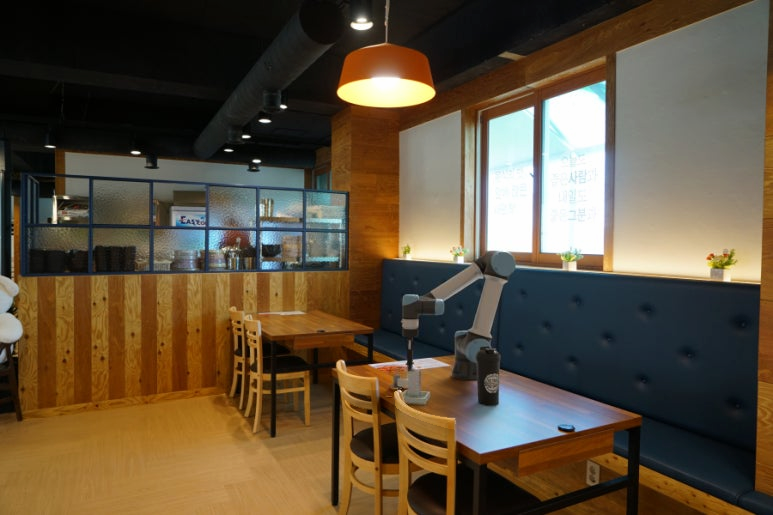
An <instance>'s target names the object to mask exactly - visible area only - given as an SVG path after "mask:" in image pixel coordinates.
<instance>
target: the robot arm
mask: <svg viewBox="0 0 773 515" xmlns="http://www.w3.org/2000/svg"><path fill="white" fill-rule="evenodd" d="M470 263H471V264H470V265H469V266H468V267H466V268H465V269H464V270H462V271H460V272H459V273H457V274H456V275H454V276H453V277H451V278H449V279H448V280H447V281H445V282H443V283H441V284H440V285H438V286H437V287H435V288H434V289H432V290H431V291H430V292H427V293H426V294H424V295H421V296H419V295H418V294H412V293H411V294H404V295H403V296H402V304H401V307H402V318H401V321H400V323H402V324H401V327H402V329H401V336H402V337H404V338H407V339H405V350H406V363H405V366H406V379H408V371H409V370H410V369H414V365H415V362H414V359H413V357H414V349H415V339H414V338H417V337H419V325H420V324H419V317H420V316H440V315H443V314H444V313H445V301H446V300H448V299H449V298H451V297H453V296H454V295H455V294H457V293H459V292H461V291H462V290H464V289H466V287H468V286H469V285H471V284H472V283H474V282H476V281H477V280H479V279H482V280H483V279H484V278H485V281H484V283H483V284H484V285H483V288H482V292H481V295H480V299H479V303H478V306H477V310H476V313H475V316H474V320H473V324H472V327H471V328H469V329H467V330H457V331H456V332H455V333H454V363H453V367H452V369H451V378H453V379H454V380H455V379H456V380H461V381H477V362H476V354H477V352H478V351H480V347H482V346H489V347H490V348H492V345H491V342H492V339H493V335H491V330H492V327H493V323H494V319H495V315H496V312H497V309H498V305H499V301H500V298H501V294H502V291H503V288H504V285H505V284H506V283H508V282H509V278H510V275H511V274H513V273H514V271H515V269H516V266H517V261H516V258H515V257H514V255H513V254H512V253H511V252H509V251H506V250H489V251H487V252H485V253H484V254H482V255H481V256H479V257H478V258H476V259H475V260H473V261H472V262H470Z"/></svg>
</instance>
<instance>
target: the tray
mask: <svg viewBox="0 0 773 515" xmlns="http://www.w3.org/2000/svg"><path fill="white" fill-rule="evenodd" d="M402 393H403V396H404V400H405V402H406V403H407V404H408V405H420V406H426V405H427V403H428V401H429V400H430V398H431V391H425V390H424V391H423V390H421V398H412V397H408V389H406V390H404V391H403V392H402ZM407 404H406V405H407Z"/></svg>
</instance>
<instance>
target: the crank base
mask: <svg viewBox="0 0 773 515" xmlns="http://www.w3.org/2000/svg"><path fill="white" fill-rule="evenodd" d="M390 387H392V388H398V389H400V388H403V389H404V387H399V386H394V385H393V384H391V385H390V386H389V388H390Z"/></svg>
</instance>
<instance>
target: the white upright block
mask: <svg viewBox="0 0 773 515" xmlns="http://www.w3.org/2000/svg"><path fill="white" fill-rule="evenodd" d="M407 390H408V397H412V398H421V391H422V369H414V368H413V369H410V370H409V371H408V388H407Z"/></svg>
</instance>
